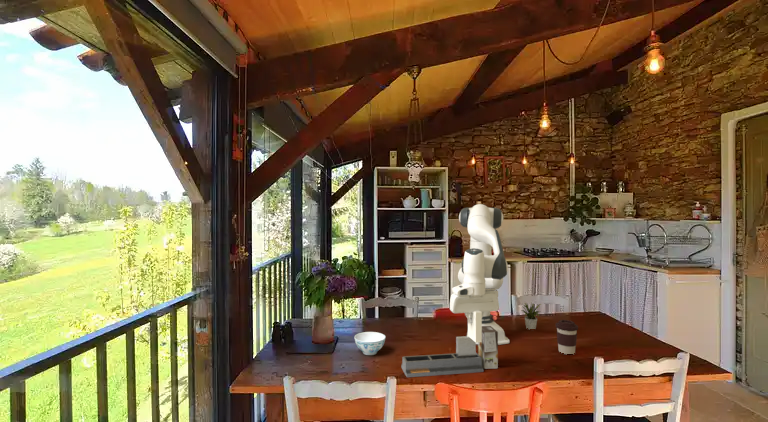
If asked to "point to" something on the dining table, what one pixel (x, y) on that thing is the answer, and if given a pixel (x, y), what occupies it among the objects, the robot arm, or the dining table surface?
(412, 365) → the panel rack
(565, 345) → the coffee cup
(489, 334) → the coffee box
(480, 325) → the panel
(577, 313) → the dining table surface
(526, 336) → the dining table surface
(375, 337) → the chinaware
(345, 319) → the dining table surface
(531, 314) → the house plant
